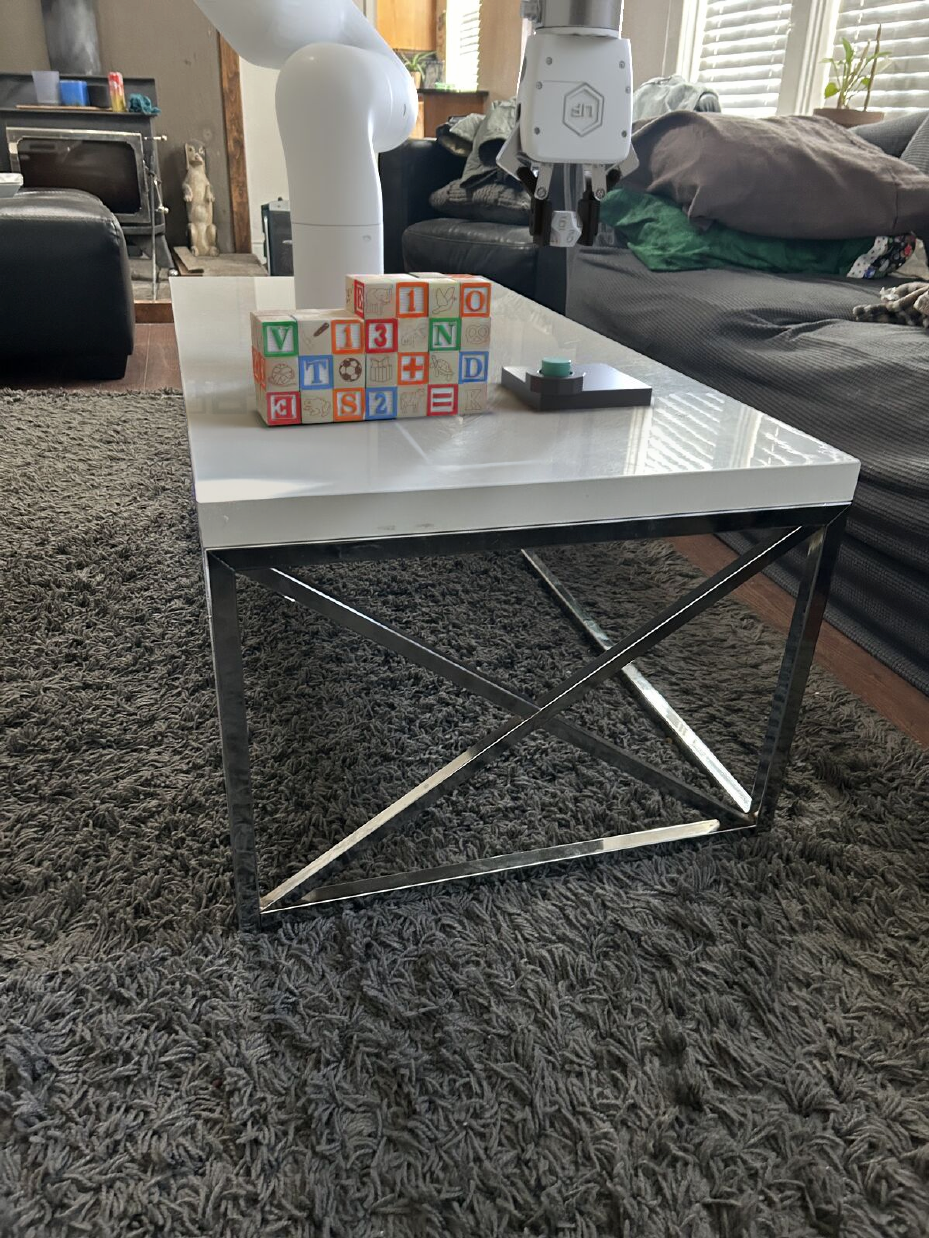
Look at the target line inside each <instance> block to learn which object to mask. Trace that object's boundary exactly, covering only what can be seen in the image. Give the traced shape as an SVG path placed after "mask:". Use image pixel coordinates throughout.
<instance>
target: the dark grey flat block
mask: <svg viewBox="0 0 929 1238" xmlns="http://www.w3.org/2000/svg"><path fill="white" fill-rule="evenodd" d="M541 367H542V365H521V366H519V365H516V366H501V372H500V373H501V374H500V385H502V386H503V387H504V388H506V389H508V390H509V391H510V392H512V393H513V394H514V395H515V396H516V397H519V398H520V399H522V400H523V401H524V402H525V403H527V404H528V405H530V406H531V407H533V408H534V409H536V410H537V411H538V412H555V411H573V410H574V411H575V410H576V411H577V410H595V409H612V408H613V409H615V408H617V409H618V408H634V407H651V404H652V403H651V402H652V398H653V397H652V396H653V387H652V386H650V385H647V384H646V383H643V382H642V381H640V380H638V379H636V378H634V377H632V376H629V375H628V374H626V373H624V372H622V371H620V370H618V369H616V368H614V367H612V366H610V365H608V364H606V363H603V362H601V363H599V362H597V363H573V364H571V363H570V375H568V376H549V375H544V374H541Z"/></svg>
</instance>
